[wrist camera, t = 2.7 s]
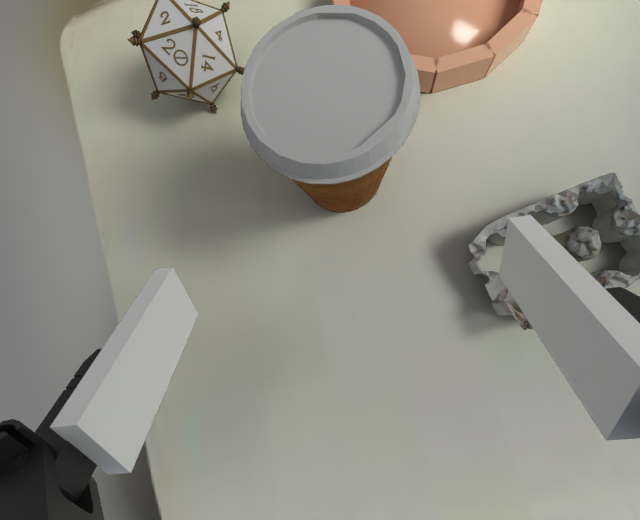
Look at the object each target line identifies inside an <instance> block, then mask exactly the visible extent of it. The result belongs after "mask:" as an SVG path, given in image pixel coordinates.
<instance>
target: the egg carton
mask: <svg viewBox="0 0 640 520" xmlns="http://www.w3.org/2000/svg"><path fill="white" fill-rule="evenodd" d="M589 203H590V204H592V205H593V206H594V208H595V209H596V211H597V213H596V218H595V219H594V221H593V224H592V228H590V227H587V226H579V227H575V228H573V229H571V230H568V231H566V232H564V233H561V234H559V235H557V236H555V237H554V239H555V240H556V241H557V242H558V243H559V244H560V245H561V246H562V247H563V248H564V249H565V250H566V251H567V252H568V253H569V254H570V255H571V256H572V257H573V258H574V259H575V260H576V261H577V262H580V261H585V260H589V259H591V258H594V257H596V256H597V255H598V254H599V253H600V249H601V244H602V243H601V241H602V242H605V243H615V242H619V243H620V244H621V245H622V247H623V248H624V250H625V251H626V255H625V256H624V257H623V258H622V259H621V261H620V263H619V270H620V271H617V270H605V271H599V272H594V273H590V274H591V275H592V276H593V277H594V278H595V279H596V280H597V281H598V282H599V283H600V284H601V285H602V286H603V287H604V288H605V289H606V288H614V287H622V288H624V289H625V288H627V287H628V286H630V285H631V284H632V283H633V282H634V281H636V280H637V279H639V278H640V215H639V214H638V213H637V211H636V209H635V207H634V204H633V200H631V199H629V198H627V197H626V196H624V195H623V191H622V186H621V184H620V182H619V180H618V178H617V176H616V174H615V173H610V174H607V175H604V176H601V177H598V178H595V179H592V180H590V181H587V182H584V183H582V184H580V185H577V186H575V187H573V188H570V189H568V190H565V191H563V192H561V193H558V194H556V195H553V196H550V197H548V198H545V199H543V200H541V201H539V202H537V203H534V204H532V205H529V206H527V207H525V208H522V209H520V210H518V211H516V212H513V213H510V214H508V215H506V216H504V217H502V218H499V219H497V220H495V221H494V222H492V223H490V224H488V225H487V226H486V227H485V228H484V229H483V230H482V231H481V232H480V233H479V234H478V236H477V237H476V238H475V239H474V241H473V242H472V243H471V244H470V245H469V249H470V251H471V253H472V254H473V255H474V257H473V259H472V260H471V261H470V262H469V266H470V269H471V270H472V273H473V274H474V275H478V274H484V275H487V276H488V278H489V281H488V282H487V283H486V284H485V286H486V289H487V291H488V293H489V295H490V297H491V299H492V301H493V302H492V303H491V304H492V306H493V308H494V310H495V312H496V314H497V315H512V316H514V318H515V319H516V320H517V321H518V323H519V324H520V326H521V327H522V328H523V329H524V330H526V329H527V328H529V329H532V328H533V327H532V326H531V324H530V323H529V321H528V320H527V318H526V317H525V315H524V313H523V312H518V311H517V310H515V309H514V308H513V307H512V305H510V304H508V303H506V302H504V301H503V300H504V299H505V298H506V296H507V294H508V289H507V287H506V286H505V284H504V283H503V281H502V280H501V278H500V277H499V275H500V274H499V273H497V272H493V271H488V272H485V271H482V270H481V269H480V267H479V265H478V260H480V259H481V257H482V256H483V255H484V254H485V250H486V239H487V240H488V241H489V242H491V243H493V244H495V245H504V243H505V237H506V230H507V224H508V218H512V217H519V216H526V215H531V216H532V217H533V218H534V219H535V220H536V221H537V222H538V223H539V224H540V225H544V224H547V223H550V222H552V221H554V220H556V219H559V218H561V217H563V216H567V215H569V214H570V213H572V212H573V211H574V210H575V209H576V207H577V206H578V204H589Z"/></svg>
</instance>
